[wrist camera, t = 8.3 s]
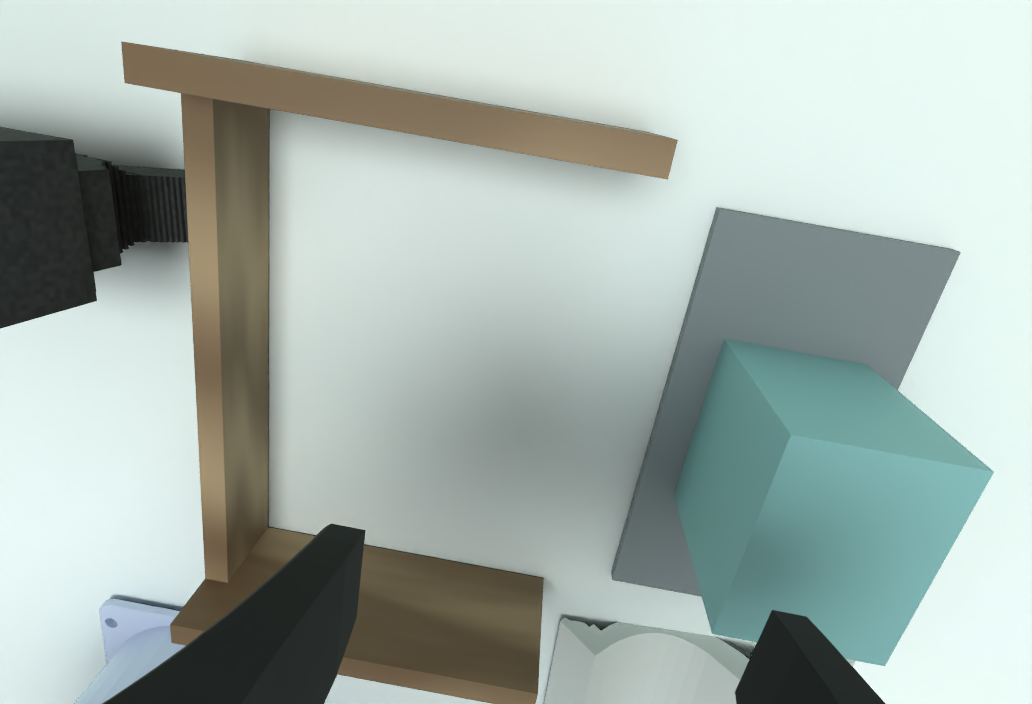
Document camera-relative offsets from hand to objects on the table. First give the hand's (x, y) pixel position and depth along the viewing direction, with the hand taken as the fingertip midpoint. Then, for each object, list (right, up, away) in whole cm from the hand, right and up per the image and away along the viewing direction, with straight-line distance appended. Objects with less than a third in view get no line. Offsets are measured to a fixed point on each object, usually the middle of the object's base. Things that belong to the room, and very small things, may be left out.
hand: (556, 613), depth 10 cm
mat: (+8, +2, +10) cm, 12 cm away
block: (+8, +2, +9) cm, 12 cm away
